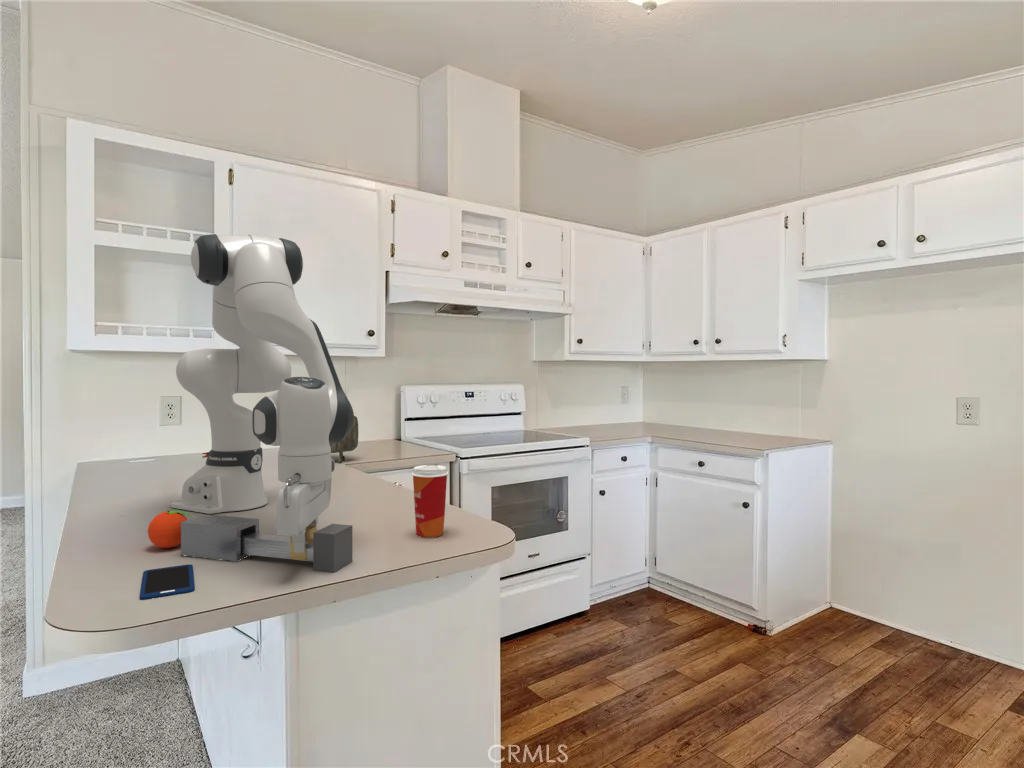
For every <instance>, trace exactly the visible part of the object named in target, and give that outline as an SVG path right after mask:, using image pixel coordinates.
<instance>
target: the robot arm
mask: <svg viewBox="0 0 1024 768" xmlns="http://www.w3.org/2000/svg"><path fill="white" fill-rule="evenodd" d="M190 252H191V253H190V263H191V266H192V269H193V271H194V273H195V276H196V278H197V279H198V280H199V281H200V282H202V283H203V284H206V285H210V286H213V290H212V317H211V318H212V321H211V325H212V327H213V329H214V331H215V333H216V334H218V336H219V337H221V338H222V339H224V340H225V341H227V342H229V343H232V344H234V345H236V346H237V347H239V348H202V349H201V348H200V349H195V350H189V351H186V352H184V353H183V354H182V355H181V356H180V358H179V360H178V361H177V364H176V366H175V367H176V368H175V369H176V370H175V374H176V378H177V381H178V383H179V385H180V386H181V387H182V388H183V389H184V390H186V391H187V392H188V393H189V394H192V395H193V396H194V397H195V398H196V399H197V400H198V401H199V402H200V403H201V404H202V406H203V407H204V409H205V411H206V413H207V416H208V419H209V426H210V434H211V435H210V436H211V437H210V438H211V449H210V450H209V451H208V452H203V453H201V455H203V456H202V457H201V458H203V459H204V458H206V460H205V465H203V466H202V467H201V468H200V469H198V471H196V472H195V473H194V474H193V475H191V476H190V477H188V478H187V479H186V480H185V481H184V483H183V485H182V491H181V498H179V499H176V500H174V501H173V502H171V503H170V508H172V509H178V510H185V511H189V512H190V511H191V512H196V513H203V514H206V515H214V514H219V513H226V512H227V513H228V512H236V511H237V512H238V511H247V510H251V509H256V508H260V507H263V506H265V505H267V504H268V503H269V501H268V498H267V496H266V495H267V494H266V492H265V487H264V482H263V481H264V480H263V472H262V466H263V461H264V460H263V447H261V443H262V444H264V445H267V446H272V447H279V450H278V452H277V455H278V459H277V463H278V464H277V465H278V467H277V469H278V470H277V471H278V472H277V473H278V476H277V477H278V478H277V479H278V481H279V482H282V483H285V486H284V487H282V488H280V490H279V491H278V494H277V499H276V508H275V509H276V511H275V512H276V513H275V531H276V535H279V536H291V537H292V540H293V543H294V552H295V553H302V552H304V551H305V550H306V548H307V546H306V545H307V540H305V532H306V527H307V526H308V525H309V526H317V527H318V522H319V516H320V515H321V514H322V513H324V512H325V511H326V510H328V509H329V505H330V502H331V495H332V479H333V478H332V477H333V476H332V473H333V472H334V471H335V468H336V464H335V463H336V462H335V460H334V459H333V458H332V453H331V448H330V444H338V443H340V442H341V441H342V440H343V439H344V438H345V437H346V436H347V435H348V434H349V433H350V431H351V430H352V428H353V425H354V416H355V413H354V410H353V409H354V408H353V406H352V404H351V402H350V400H349V399H348V396H347V395H346V393H345V391H344V389H343V387H342V385H341V381H340V380H339V376H338V374H337V372H336V369H335V366H334V363H333V360H332V358H331V355H330V352H329V350H328V346H327V344H326V342H325V339H324V337H323V335H322V332H321V330H320V328H319V326H318V325H317V323H316V322H315V321H314V320H312V319H311V318H309V317H308V316H307V314H306V312H304V311H303V309H302V308H301V306H300V305H299V302H298V300H297V298H296V294H295V289H294V285H295V284H297V283H298V282H299V281H300V280H301V277H302V273H303V271H304V269H303V268H304V259H303V256H302V251H301V248H300V247H299V245H298V244H297V243H296V242H295V241H292V240H289V239H286V238H282V237H279V238H274V237H270V236H269V237H268V236H262V235H254V234H248V235H246V234H245V235H242V234H229V235H228V234H226V235H225V234H223V235H217V234H216V233H211V234H204V235H200V236H199V237H198V238H196V240H195V241H194V244H193V247H192V249H191V251H190ZM273 344H274V345H277V346H280V347H281V348H284V349H287V350H289V351H291V352H292V353H294V354H295V355H297V357H299V358H300V359H301V361H302V362H303V363H304V365H305V368H306V371H307V374H308V376H309V377H308V376H293V377H292V365H291V363H290V361H289V358H288V357H287V356H286V355H285V354H284V353H283V352H281V351H279V350H278V349H277V348H276V347H274V345H273ZM270 392H274V393H272V394H271V395H268V396H264V397H263V398H261V399H260V400H259V401H258V402H257V403H256V404H255V406H254V407H253V408H252V409H249V408H247V407H245V406H243V405H240V404H237V403H236V402H235V401H234V398H233V397H234V396H233V395H234V394H260V393H261V394H263V393H264V394H265V393H270Z"/></svg>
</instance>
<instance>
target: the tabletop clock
mask: <svg viewBox="0 0 1024 768" xmlns="http://www.w3.org/2000/svg"><path fill="white" fill-rule="evenodd" d="M358 444H359V420H358V417H357V416H356V415H354V425H353V428H352V430H351V431H350V433H349V434H348V435H347V436H346V437H345V438H344V439H343V440H342V441H341V442H340V443H338V444H330V448H331V454H337V453H338V454H339V458H338V459H337V463H338V464H341V463H343V461H345V459H346V457H345V455H344V454H343V453H347V452H352V451H354V450H355V449H356V448H358Z"/></svg>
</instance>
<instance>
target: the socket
mask: <svg viewBox="0 0 1024 768" xmlns="http://www.w3.org/2000/svg"><path fill="white" fill-rule="evenodd" d="M352 562H353V525H352V524H342V523H331V524H328V525H327V526H325V527H322V528H320V529H317V531H316V532H313V561H312V563H313V564H312V567H313V568H312V569H313V570H312V571H315V572H316V571H319V572H326V573H336V572H337V571H339V570H340V569H342V568H344V567H345V566H347V565H349V564H350V563H352Z"/></svg>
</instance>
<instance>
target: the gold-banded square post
mask: <svg viewBox="0 0 1024 768" xmlns="http://www.w3.org/2000/svg"><path fill="white" fill-rule="evenodd" d="M317 527H318V525H317V526H309V525H308V526H307V527H306V532H305V540H307V545H306V546H307V548H306V550H305V551H304V552H302V553H295V552H294V543H293V540H292V537H291V536H280V535H278V534H269V533H268V534H267V533H259V534H258V533H247V532H244V533H242V534H240V538H241V554H246V555H251V556H258V557H267V558H275V559H287V560H294V561H295V560H296V561H305V562H313V532H316V531H318V528H317Z"/></svg>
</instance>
